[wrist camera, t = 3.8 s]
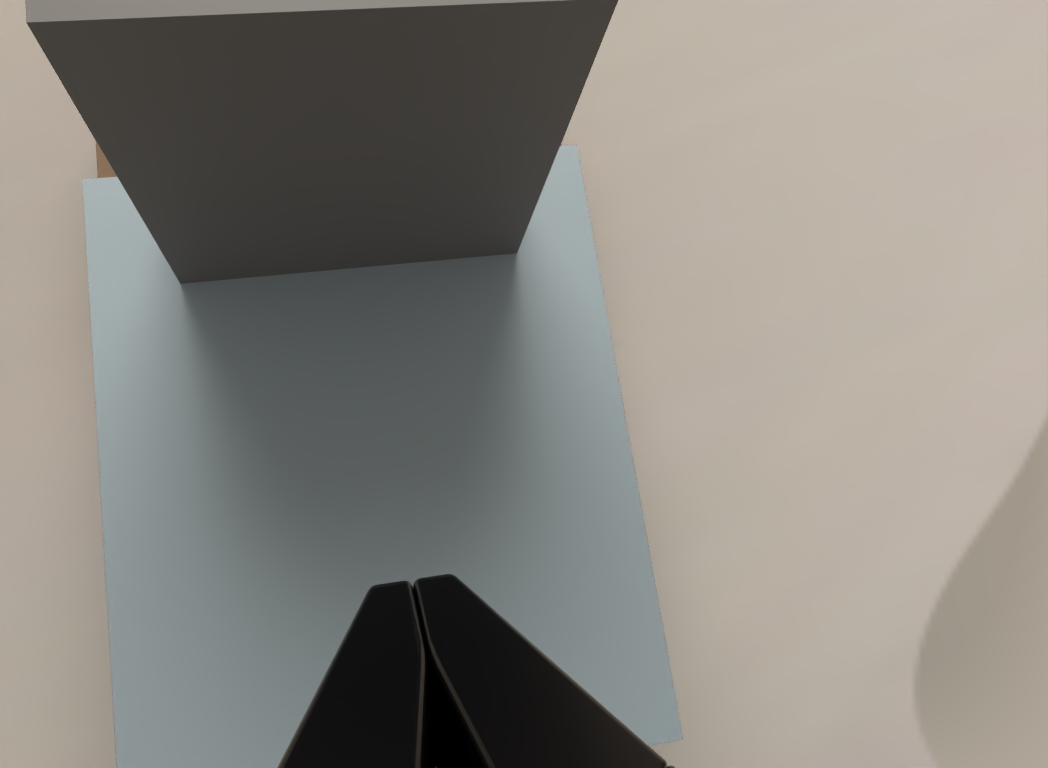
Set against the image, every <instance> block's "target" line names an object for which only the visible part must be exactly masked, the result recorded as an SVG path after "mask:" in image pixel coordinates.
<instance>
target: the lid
mask: <svg viewBox="0 0 1048 768" xmlns="http://www.w3.org/2000/svg"><path fill="white" fill-rule="evenodd" d="M25 1H26V22H27V24H28V26H29V28H30V29H31V31H32V33H33V34H34V36H35V38H36V39H37V41H38V43H39V45H40V46H41V48H42V50H43V51H44V53H45V55H46V56H47V58H48V60H49V62H50V63H51V65H52V67H53V68H54V70H55V72H56V73H57V75H58V77H59V79H60V80H61V82H62V84H63V85H64V87H65V89H66V90H67V92H68V94H69V96H70V97H71V99H72V101H73V102H74V104H75V106H76V107H77V109H78V111H79V113H80V114H81V116H82V118H83V119H84V121H85V123H86V124H87V126H88V128H89V130H90V131H91V133H92V135H93V136H94V138H95V140H96V141H97V143H98V145H99V147H100V148H101V150H102V152H103V153H104V155H105V157H106V158H107V160H108V162H109V164H110V165H111V167H112V169H113V170H114V172H115V174H116V175H117V177H106V178H92V179H82V182H83V199H84V216H85V233H86V250H87V267H88V284H89V302H90V319H91V336H92V353H93V370H94V387H95V404H96V421H97V438H98V456H99V473H100V490H101V507H102V524H103V541H104V558H105V575H106V592H107V609H108V627H109V644H110V661H111V678H112V695H113V712H114V729H115V746H116V763H117V768H277V767H278V765H279V763H280V761H281V759H282V757H283V755H284V754H285V752H286V750H287V748H288V746H289V744H290V742H291V740H292V738H293V736H294V734H295V732H296V730H297V728H298V726H299V724H300V722H301V720H302V718H303V716H304V714H305V712H306V711H307V709H308V707H309V705H310V703H311V701H312V699H313V697H314V695H315V693H316V691H317V689H318V687H319V685H320V683H321V681H322V679H323V677H324V675H325V673H326V671H327V670H328V668H329V666H330V664H331V662H332V660H333V658H334V656H335V654H336V652H337V650H338V648H339V646H340V644H341V642H342V640H343V638H344V636H345V634H346V632H347V630H348V629H349V627H350V625H351V623H352V621H353V619H354V617H355V615H356V613H357V611H358V609H359V607H360V605H361V603H362V601H363V599H364V597H365V595H366V593H367V592H368V590H369V589H370V587H372V586H374V585H378V584H385V583H391V582H398V581H408V582H410V583H411V584H412V586H413V584H414V582H415V581H416V580H417V579H419V578H424V577H431V576H437V575H444V574H453V575H455V576H456V577H458V578H459V579H460V580H461V581H462V582H463V583H464V584H466V585H467V586H468V587H469V588H470V589H471V590H472V591H474V592H475V593H476V594H477V595H478V596H479V597H480V598H481V599H483V600H484V601H485V602H486V603H487V604H488V605H489V606H491V607H492V608H493V609H494V610H495V611H496V612H497V613H498V614H500V615H501V616H502V617H503V618H504V619H505V620H506V621H508V622H509V623H510V624H511V625H512V626H513V627H514V628H515V629H517V630H518V631H519V632H520V633H521V634H522V635H523V636H525V637H526V638H527V639H528V640H529V641H530V642H531V643H532V644H534V645H535V646H536V647H537V648H538V649H539V650H540V651H542V652H543V653H544V654H545V655H546V656H547V657H548V658H549V659H551V660H552V661H553V662H554V663H555V664H556V665H557V666H559V667H560V668H561V669H562V670H563V671H564V672H565V673H566V674H568V675H569V676H570V677H571V678H572V679H573V680H574V681H576V682H577V683H578V684H579V685H580V686H581V687H582V688H583V689H585V690H586V691H587V692H588V693H589V694H590V695H591V696H593V697H594V698H595V699H596V700H597V701H598V702H599V703H600V704H602V705H603V706H604V707H605V708H606V709H607V710H608V711H609V712H611V713H612V714H613V715H614V716H615V717H616V718H617V719H619V720H620V721H621V722H622V723H623V724H624V725H625V726H627V727H628V728H629V729H630V730H631V731H632V732H633V733H634V734H636V735H637V736H638V737H639V738H640V739H641V740H642V741H644V742H645V743H646V744H647V745H648V746H650V745H655V744H660V743H665V742H671V741H676V740H681V739H683V737H682V731H681V725H680V720H679V714H678V709H677V703H676V697H675V692H674V686H673V681H672V675H671V669H670V664H669V658H668V653H667V647H666V641H665V636H664V630H663V625H662V619H661V613H660V608H659V602H658V597H657V591H656V585H655V580H654V574H653V569H652V563H651V557H650V552H649V546H648V541H647V535H646V529H645V524H644V518H643V513H642V507H641V501H640V496H639V490H638V485H637V479H636V473H635V468H634V462H633V457H632V451H631V445H630V440H629V434H628V429H627V423H626V418H625V412H624V406H623V401H622V395H621V390H620V384H619V378H618V373H617V367H616V362H615V356H614V350H613V345H612V339H611V334H610V328H609V322H608V317H607V311H606V306H605V300H604V294H603V289H602V283H601V278H600V272H599V266H598V261H597V255H596V250H595V244H594V238H593V233H592V227H591V222H590V216H589V210H588V205H587V199H586V194H585V188H584V182H583V177H582V171H581V166H580V160H579V154H578V149H577V145H564V146H560V145H561V142H562V140H563V137H564V135H565V132H566V130H567V127H568V125H569V122H570V120H571V117H572V115H573V112H574V110H575V107H576V105H577V102H578V100H579V97H580V95H581V92H582V90H583V87H584V85H585V82H586V79H587V77H588V74H589V72H590V69H591V67H592V64H593V62H594V59H595V57H596V54H597V52H598V49H599V47H600V44H601V42H602V39H603V37H604V34H605V32H606V29H607V27H608V24H609V22H610V19H611V17H612V14H613V12H614V9H615V7H616V4H617V2H618V0H25Z"/></svg>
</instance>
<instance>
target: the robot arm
mask: <svg viewBox="0 0 1048 768" xmlns="http://www.w3.org/2000/svg"><path fill="white" fill-rule="evenodd" d="M277 768H675V767H674V766H668V767H667V763H666V761H665V760H664V759H663V758H662V757H661V756H659V755H658V754H657V753H656V752H655V751H654V750H653V749H651V748H650V747H649V746H648V745H647V744H646V743H645V742H644V741H642V740H641V739H640V738H639V737H638V736H637V735H636V734H634V733H633V732H632V731H631V730H630V729H629V728H628V727H627V726H625V725H624V724H623V723H622V722H621V721H620V720H619V719H617V718H616V717H615V716H614V715H613V714H612V713H611V712H609V711H608V710H607V709H606V708H605V707H604V706H603V705H602V704H600V703H599V702H598V701H597V700H596V699H595V698H594V697H593V696H591V695H590V694H589V693H588V692H587V691H586V690H585V689H583V688H582V687H581V686H580V685H579V684H578V683H577V682H576V681H574V680H573V679H572V678H571V677H570V676H569V675H568V674H566V673H565V672H564V671H563V670H562V669H561V668H560V667H559V666H557V665H556V664H555V663H554V662H553V661H552V660H551V659H549V658H548V657H547V656H546V655H545V654H544V653H543V652H542V651H540V650H539V649H538V648H537V647H536V646H535V645H534V644H532V643H531V642H530V641H529V640H528V639H527V638H526V637H525V636H523V635H522V634H521V633H520V632H519V631H518V630H517V629H515V628H514V627H513V626H512V625H511V624H510V623H509V622H508V621H506V620H505V619H504V618H503V617H502V616H501V615H500V614H498V613H497V612H496V611H495V610H494V609H493V608H492V607H491V606H489V605H488V604H487V603H486V602H485V601H484V600H483V599H481V598H480V597H479V596H478V595H477V594H476V593H475V592H474V591H472V590H471V589H470V588H469V587H468V586H467V585H466V584H464V583H463V582H462V581H461V580H460V579H459V578H458V577H456V576H455V575H453V574H444V575H437V576H431V577H424V578H419V579H417V580H416V581H415V582H414V584H413V586H412V584H411V583H410V582H408V581H398V582H391V583H385V584H378V585H374V586H372V587H370V589H369V590H368V592H367V593H366V595H365V597H364V599H363V601H362V603H361V605H360V607H359V609H358V611H357V613H356V615H355V617H354V619H353V621H352V623H351V625H350V627H349V629H348V630H347V632H346V634H345V636H344V638H343V640H342V642H341V644H340V646H339V648H338V650H337V652H336V654H335V656H334V658H333V660H332V662H331V664H330V666H329V668H328V670H327V671H326V673H325V675H324V677H323V679H322V681H321V683H320V685H319V687H318V689H317V691H316V693H315V695H314V697H313V699H312V701H311V703H310V705H309V707H308V709H307V711H306V712H305V714H304V716H303V718H302V720H301V722H300V724H299V726H298V728H297V730H296V732H295V734H294V736H293V738H292V740H291V742H290V744H289V746H288V748H287V750H286V752H285V754H284V755H283V757H282V759H281V761H280V763H279V765H278V767H277Z"/></svg>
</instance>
